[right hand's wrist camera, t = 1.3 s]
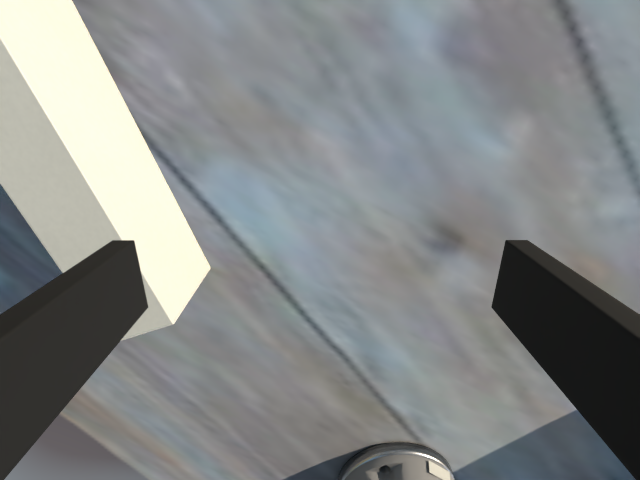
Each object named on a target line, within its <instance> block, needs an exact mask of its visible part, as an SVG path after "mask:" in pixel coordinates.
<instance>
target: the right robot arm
mask: <svg viewBox="0 0 640 480" xmlns="http://www.w3.org/2000/svg"><path fill="white" fill-rule="evenodd" d="M147 308H148V303H147V298H146V293H145V289H144V284H143V279H142V274H141V270H140V265H139V260H138V256H137V251H136V246H135V241H134V240H112V241H111V242H109V243H108V244H106V245H105V246H103V247H102V248H100V249H99V250H97V251H96V252H94V253H93V254H91V255H90V256H88V257H87V258H85V259H84V260H82V261H81V262H79V263H78V264H76V265H75V266H73V267H72V268H70V269H69V270H67V271H66V272H64V273H62V274H61V275H59V276H58V277H56V278H55V279H53V280H52V281H50V282H49V283H47V284H46V285H44V286H43V287H41V288H40V289H38V290H37V291H35V292H34V293H32V294H31V295H29V296H28V297H26V298H25V299H23V300H22V301H20V302H19V303H17V304H16V305H14V306H13V307H11V308H10V309H8V310H7V311H5V312H4V313H2V314H1V315H0V480H4V479H5V478H6V477H7V475H8V474H9V473H10V472H11V471H12V469H13V468H14V467H15V466H16V465H17V463H18V462H19V461H20V460H21V459H22V457H23V456H24V455H25V454H26V453H27V452H28V450H29V449H30V448H31V447H32V446H33V444H34V443H35V442H36V441H37V440H38V438H39V437H40V436H41V435H42V434H43V432H44V431H45V430H46V429H47V428H48V426H49V425H50V424H51V423H52V422H53V420H54V419H55V418H56V417H57V416H58V415H59V413H60V412H61V411H62V410H63V409H64V407H65V406H66V405H67V404H68V403H69V401H70V400H71V399H72V398H73V397H74V395H75V394H76V393H77V392H78V391H79V390H80V388H81V387H82V386H83V385H84V384H85V382H86V381H87V380H88V379H89V378H90V376H91V375H92V374H93V373H94V372H95V370H96V369H97V368H98V367H99V366H100V364H101V363H102V362H103V361H104V360H105V358H106V357H107V356H108V355H109V354H110V353H111V351H112V350H113V349H114V348H115V347H116V345H117V344H118V343H119V342H120V341H121V339H122V338H123V337H124V336H125V335H126V333H127V332H128V331H129V330H130V329H131V327H132V326H133V325H134V324H135V323H136V321H137V320H138V319H139V318H140V317H141V316H142V314H143V313H144V312H145V311H146V310H147ZM492 308H493V310H494V311H495V312H496V313H497V314H498V316H499V317H500V318H501V319H502V320H503V321H504V323H505V324H506V325H507V326H508V327H509V329H510V330H511V331H512V332H513V333H514V335H515V336H516V337H517V338H518V339H519V341H520V342H521V343H522V344H523V345H524V347H525V348H526V349H527V350H528V351H529V353H530V354H531V355H532V356H533V357H534V358H535V360H536V361H537V362H538V363H539V364H540V366H541V367H542V368H543V369H544V370H545V372H546V373H547V374H548V375H549V376H550V378H551V379H552V380H553V381H554V382H555V384H556V385H557V386H558V387H559V388H560V390H561V391H562V392H563V393H564V394H565V395H566V397H567V398H568V399H569V400H570V401H571V403H572V404H573V405H574V406H575V407H576V409H577V410H578V411H579V412H580V413H581V415H582V416H583V417H584V418H585V419H586V421H587V422H588V423H589V424H590V425H591V427H592V428H593V429H594V430H595V431H596V432H597V434H598V435H599V436H600V437H601V438H602V440H603V441H604V442H605V443H606V444H607V446H608V447H609V448H610V449H611V450H612V452H613V453H614V454H615V455H616V456H617V458H618V459H619V460H620V461H621V462H622V463H623V465H624V466H625V467H626V468H627V469H628V471H629V472H630V473H631V474H632V475H633V477H634V478H635V479H636V480H640V314H638V313H636V312H635V311H633V310H632V309H630V308H629V307H627V306H626V305H624V304H623V303H621V302H620V301H618V300H617V299H615V298H614V297H612V296H611V295H609V294H608V293H606V292H605V291H603V290H602V289H600V288H599V287H597V286H596V285H594V284H593V283H591V282H590V281H588V280H587V279H585V278H584V277H582V276H581V275H579V274H578V273H576V272H574V271H573V270H571V269H570V268H568V267H567V266H565V265H564V264H562V263H561V262H559V261H558V260H556V259H555V258H553V257H552V256H550V255H549V254H547V253H546V252H544V251H543V250H541V249H540V248H538V247H537V246H535V245H534V244H532V243H531V242H529V241H528V240H506V241H505V246H504V251H503V256H502V260H501V265H500V270H499V274H498V279H497V284H496V289H495V293H494V298H493V303H492ZM338 480H455V478H454V475H453V473H452V470H451V467H450V465H449V464H448V462H447V461H446V460H445V459H444V458H443V457H442V456H441V455H440V454H439V453H437V452H436V451H434V450H432V449H430V448H428V447H425V446H422V445H418V444H413V443H404V442H396V443H386V444H381V445H377V446H373V447H371V448H368V449H366V450H364V451H362V452H360V453H358V454H357V455H355V456H354V457H352V458H351V459H350V460H349V461H348V462H347V463H346V464H345V465H344V467H343V468H342V470H341V472H340V474H339V477H338Z"/></svg>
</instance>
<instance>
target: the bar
mask: <svg viewBox="0 0 640 480" xmlns="http://www.w3.org/2000/svg"><path fill="white" fill-rule="evenodd" d="M0 184H1V186H2V187H3V189H4V190H5V191H6V193H7V194H8V196H9V197H10V199H11V200H12V202H13V203H14V204H15V206H16V207H17V209H18V210H19V212H20V213H21V214H22V216H23V217H24V219H25V220H26V222H27V223H28V224H29V226H30V227H31V229H32V230H33V232H34V233H35V234H36V236H37V237H38V239H39V240H40V242H41V243H42V245H43V246H44V247H45V249H46V250H47V252H48V253H49V255H50V256H51V257H52V259H53V260H54V262H55V263H56V265H57V266H58V267H59V269H60V270H61V272H62V273H64V272H66V271H67V270H69V269H70V268H72V267H73V266H75V265H76V264H78V263H79V262H81V261H82V260H84V259H85V258H87V257H88V256H90V255H91V254H93V253H94V252H96V251H97V250H99V249H100V248H102V247H103V246H105V245H106V244H108V243H109V242H111V241H112V240H134V241H135V246H136V251H137V256H138V260H139V265H140V270H141V274H142V279H143V284H144V289H145V293H146V298H147V303H148V308H147V310H146V311H145V312H144V313H143V314H142V316H141V317H140V318H139V319H138V320H137V321H136V323H135V324H134V325H133V326H132V327H131V329H130V330H129V331H128V332H127V333H126V335H125V336H124V337H123V338H122V339H121V341H122V340H125V339H129V338H132V337H135V336H138V335H141V334H145V333H148V332H151V331H154V330H157V329H161V328H164V327H167V326H170V325H173V324H174V323H175V321H176V320H177V318H178V317H179V315H180V314H181V312H182V311H183V309H184V308H185V306H186V305H187V303H188V302H189V300H190V299H191V297H192V296H193V294H194V293H195V291H196V290H197V288H198V287H199V285H200V284H201V282H202V281H203V279H204V278H205V276H206V275H207V273H208V272H209V270H210V266H209V264H208V262H207V260H206V258H205V256H204V254H203V252H202V250H201V248H200V246H199V244H198V242H197V241H196V239H195V237H194V235H193V233H192V231H191V229H190V227H189V225H188V223H187V221H186V219H185V217H184V215H183V214H182V212H181V210H180V208H179V206H178V204H177V202H176V200H175V198H174V196H173V194H172V192H171V190H170V188H169V187H168V185H167V183H166V181H165V179H164V177H163V175H162V173H161V171H160V169H159V167H158V165H157V163H156V161H155V160H154V158H153V156H152V154H151V152H150V150H149V148H148V146H147V144H146V142H145V140H144V138H143V136H142V134H141V133H140V131H139V129H138V127H137V125H136V123H135V121H134V119H133V117H132V115H131V113H130V111H129V109H128V108H127V106H126V104H125V102H124V100H123V98H122V96H121V94H120V92H119V90H118V88H117V86H116V84H115V82H114V81H113V79H112V77H111V75H110V73H109V71H108V69H107V67H106V65H105V63H104V61H103V59H102V57H101V55H100V54H99V52H98V50H97V48H96V46H95V44H94V42H93V40H92V38H91V36H90V34H89V32H88V30H87V28H86V27H85V25H84V23H83V21H82V19H81V17H80V15H79V13H78V11H77V9H76V7H75V5H74V3H73V1H72V0H0Z"/></svg>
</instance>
